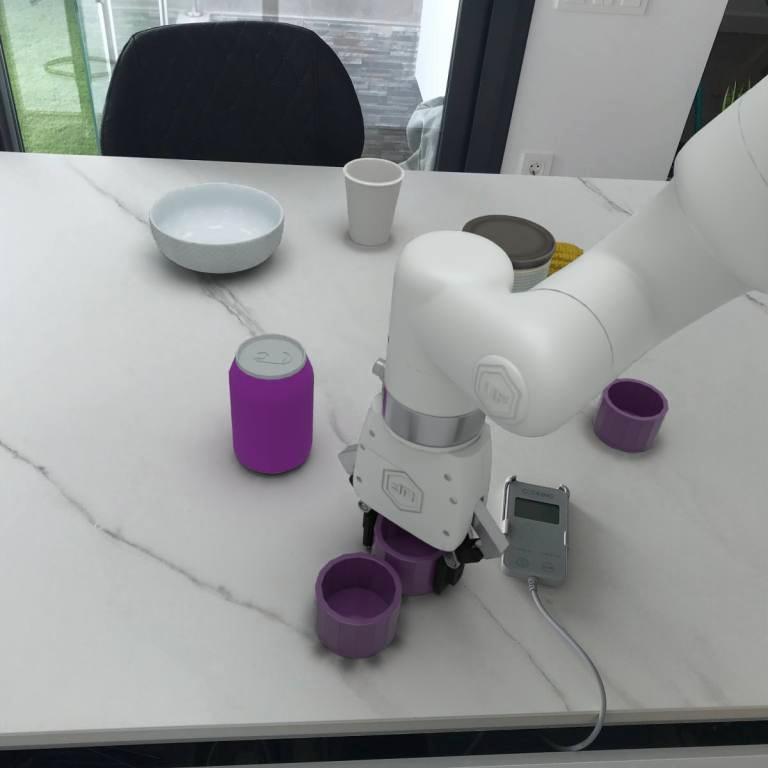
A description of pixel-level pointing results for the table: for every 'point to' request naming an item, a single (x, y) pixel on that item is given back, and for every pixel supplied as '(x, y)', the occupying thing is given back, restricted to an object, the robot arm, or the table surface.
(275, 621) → the table surface
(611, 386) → the dish far
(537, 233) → the coffee can
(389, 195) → the dixie cup
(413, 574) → the dish middle
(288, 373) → the beverage can
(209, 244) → the cereal bowl
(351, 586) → the dish near
